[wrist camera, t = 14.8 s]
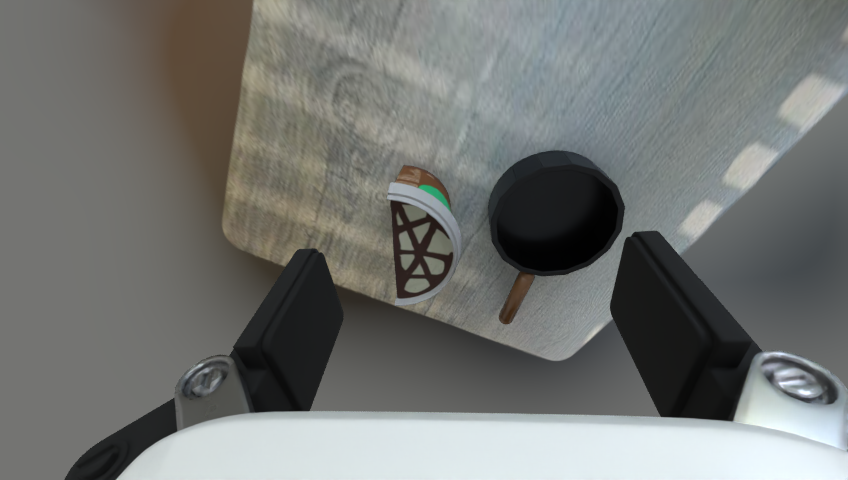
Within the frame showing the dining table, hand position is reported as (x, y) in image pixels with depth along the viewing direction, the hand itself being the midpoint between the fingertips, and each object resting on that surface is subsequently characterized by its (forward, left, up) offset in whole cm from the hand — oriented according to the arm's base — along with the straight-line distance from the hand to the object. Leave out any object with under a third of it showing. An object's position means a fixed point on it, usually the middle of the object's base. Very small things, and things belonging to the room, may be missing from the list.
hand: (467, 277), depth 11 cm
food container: (+10, -4, -26) cm, 28 cm away
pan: (+15, +7, -26) cm, 31 cm away
